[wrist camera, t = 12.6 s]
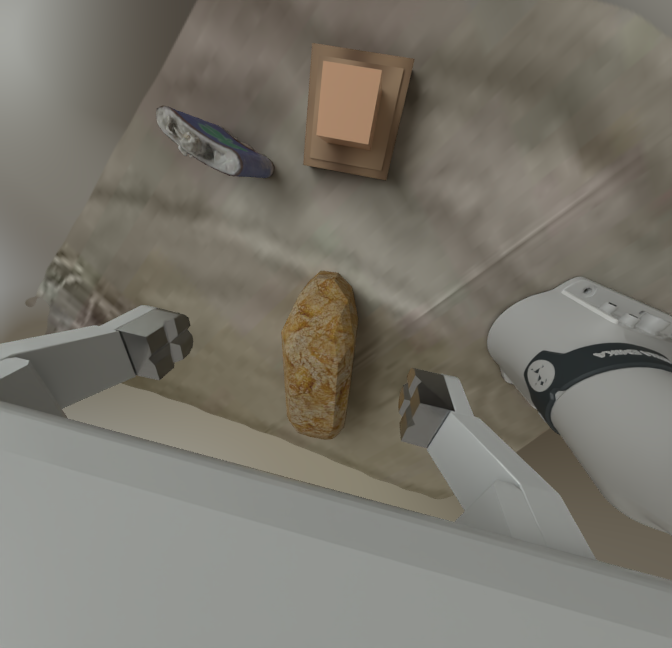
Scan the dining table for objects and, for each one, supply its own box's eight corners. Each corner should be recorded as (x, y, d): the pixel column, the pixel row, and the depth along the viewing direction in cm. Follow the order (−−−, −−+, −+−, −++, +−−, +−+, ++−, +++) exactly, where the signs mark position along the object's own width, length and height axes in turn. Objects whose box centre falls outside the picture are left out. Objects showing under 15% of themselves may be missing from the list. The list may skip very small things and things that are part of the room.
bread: (294, 267, 38) (269, 291, 30) (363, 275, 37) (357, 302, 29) (299, 416, 57) (284, 457, 48) (345, 425, 56) (338, 468, 47)
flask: (277, 163, 31) (233, 155, 22) (269, 185, 33) (225, 187, 24) (212, 119, 30) (137, 91, 21) (206, 144, 32) (135, 129, 23)
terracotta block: (382, 89, 24) (382, 70, 20) (370, 150, 27) (368, 144, 23) (333, 81, 24) (323, 60, 20) (326, 142, 27) (316, 135, 23)
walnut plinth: (411, 69, 25) (414, 58, 23) (386, 180, 30) (386, 180, 28) (318, 54, 26) (311, 42, 23) (308, 165, 31) (302, 164, 29)
